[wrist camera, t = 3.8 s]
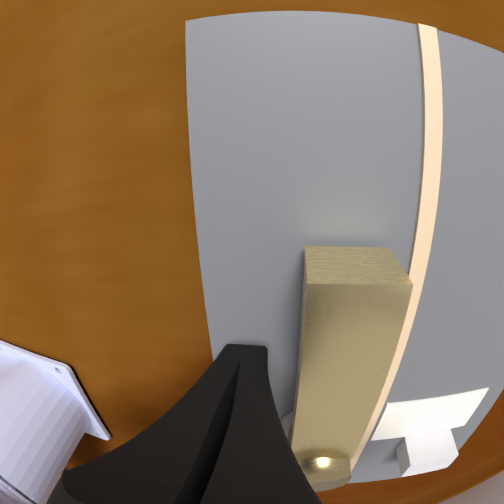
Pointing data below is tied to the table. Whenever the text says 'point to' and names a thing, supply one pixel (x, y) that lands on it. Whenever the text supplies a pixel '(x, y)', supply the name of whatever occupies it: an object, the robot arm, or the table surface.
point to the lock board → (355, 204)
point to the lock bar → (343, 353)
